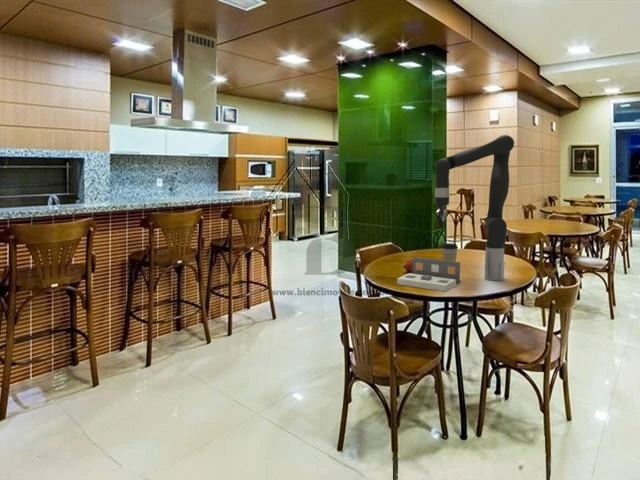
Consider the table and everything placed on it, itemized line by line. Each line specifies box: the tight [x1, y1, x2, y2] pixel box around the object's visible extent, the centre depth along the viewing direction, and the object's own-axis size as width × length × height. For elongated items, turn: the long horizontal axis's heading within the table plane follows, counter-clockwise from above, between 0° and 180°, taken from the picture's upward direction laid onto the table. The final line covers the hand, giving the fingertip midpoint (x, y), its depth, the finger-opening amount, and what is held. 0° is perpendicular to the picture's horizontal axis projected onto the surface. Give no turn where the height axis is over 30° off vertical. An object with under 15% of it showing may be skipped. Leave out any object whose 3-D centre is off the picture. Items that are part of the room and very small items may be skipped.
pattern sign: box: [412, 256, 462, 285], centre depth 239 cm, size 26×6×11 cm, turn 54°
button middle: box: [421, 275, 432, 281], centre depth 230 cm, size 4×4×3 cm
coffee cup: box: [440, 242, 459, 262], centre depth 262 cm, size 9×9×15 cm
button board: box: [396, 272, 457, 292], centre depth 230 cm, size 26×14×3 cm, turn 54°
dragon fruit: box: [402, 259, 413, 274], centre depth 257 cm, size 8×8×12 cm
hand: (441, 228), depth 243 cm, fingers closed
